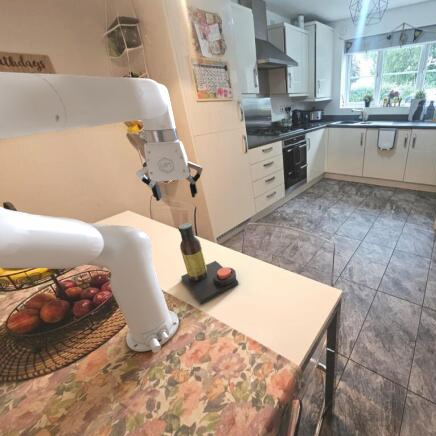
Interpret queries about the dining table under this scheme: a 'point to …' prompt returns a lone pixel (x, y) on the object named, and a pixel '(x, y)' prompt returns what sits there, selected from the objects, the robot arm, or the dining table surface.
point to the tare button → (224, 273)
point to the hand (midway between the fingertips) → (177, 197)
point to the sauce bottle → (192, 253)
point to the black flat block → (210, 283)
